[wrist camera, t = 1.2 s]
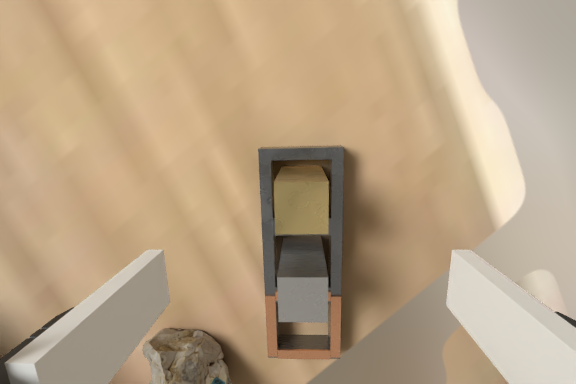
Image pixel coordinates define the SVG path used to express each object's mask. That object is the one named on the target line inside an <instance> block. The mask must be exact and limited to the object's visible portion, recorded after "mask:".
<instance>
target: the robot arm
mask: <svg viewBox="0 0 576 384" xmlns="http://www.w3.org/2000/svg"><path fill="white" fill-rule="evenodd" d="M169 303H170V297H169V289H168V281H167V274H166V266H165V258H164V250H147V251H145V252H144V253H143V254H141V255H140V256H139V257H138V258H136V259H135V260H134V261H133V262H131V263H130V264H129V265H128V266H126V267H125V268H124V269H123V270H121V271H120V272H119V273H117V274H116V275H115V276H114V277H112V278H111V279H110V280H109V281H107V282H106V283H105V284H104V285H102V286H101V287H100V288H99V289H97V290H96V291H95V292H94V293H92V294H91V295H90V296H88V297H87V298H86V299H85V300H83V301H82V302H81V303H80V304H78V305H77V306H76V307H73V308H71V309H69V310H67V311H65V312H63V313H61V314H60V315H58V316H56V317H55V318H53V319H52V320H51V321H49V322H48V323H47V324H45V325H44V326H43V327H42V329H39V330H38V331H36V332H35V333H34V334H32V335H31V336H30V338H29V339H26V340H25V341H23V342H22V343H21V344H19V345H18V346H17V347H15V348H14V349H13V350H12V351H10V352H9V353H8V354H6V355H5V356H4V357H2V358H1V359H0V384H108V383H109V382H110V381H111V380H112V378H113V377H114V376H115V374H116V373H117V372H118V370H119V369H120V368H121V366H122V365H123V364H124V362H125V361H126V360H127V358H128V357H129V356H130V354H131V353H132V352H133V350H134V349H135V348H136V347H137V345H138V344H139V343H140V341H141V340H142V339H143V337H144V336H145V335H146V333H147V332H148V331H149V329H150V328H151V327H152V325H153V324H154V323H155V321H156V320H157V319H158V317H159V316H160V315H161V314H162V312H163V311H164V310H165V308H166V307H167V306H168V304H169ZM446 306H447V307H448V308H449V309H450V311H451V312H452V313H453V314H454V316H455V317H456V318H457V319H458V321H459V322H460V323H461V324H462V326H463V327H464V328H465V329H466V331H467V332H468V333H469V334H470V336H471V337H472V338H473V339H474V341H475V342H476V343H477V344H478V346H479V347H480V348H481V349H482V351H483V352H484V353H485V354H486V356H487V357H488V358H489V359H490V361H491V362H492V363H493V364H494V366H495V367H496V368H497V369H498V371H499V372H500V373H501V374H502V376H503V377H504V378H505V379H506V381H507V382H508V383H509V384H576V321H575V320H573V319H571V318H569V317H567V316H565V315H563V314H561V313H559V312H554V311H552V310H551V309H549V308H548V307H547V306H545V305H544V304H543V303H541V302H540V301H539V300H537V299H536V298H535V297H533V296H532V295H531V294H529V293H528V292H527V291H525V290H524V289H522V288H521V287H520V286H518V285H517V284H516V283H514V282H513V281H511V280H510V279H509V278H508V277H506V276H505V275H504V274H502V273H501V272H500V271H498V270H497V269H495V268H494V267H493V266H491V265H490V264H489V263H487V262H486V261H485V260H483V259H482V258H481V257H479V256H478V255H476V254H475V253H474V252H473V251H471V250H452V257H451V265H450V274H449V283H448V292H447V301H446Z"/></svg>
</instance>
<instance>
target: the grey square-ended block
mask: <svg viewBox="0 0 576 384" xmlns="http://www.w3.org/2000/svg"><path fill="white" fill-rule="evenodd" d="M277 290H278V318H279V322H328V273H327V268H326V262H325V256H324V251H323V245H322V240H321V235H307V236H284V237H283V244H282V250H281V256H280V262H279V268H278V275H277Z"/></svg>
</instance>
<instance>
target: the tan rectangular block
mask: <svg viewBox="0 0 576 384" xmlns="http://www.w3.org/2000/svg"><path fill="white" fill-rule="evenodd" d="M274 210H275V235H284V234H328V225H329V181H328V179H327V177H326V175H325V173H324V171H323V169H322V167H321V166H282V167H281V169H280V171H279V173H278V175H277V177H276V179H275V181H274Z"/></svg>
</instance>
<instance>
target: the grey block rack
mask: <svg viewBox="0 0 576 384" xmlns="http://www.w3.org/2000/svg"><path fill="white" fill-rule="evenodd" d="M258 153H259V174H260V196H261V217H262V239H263V260H264V282H265V304H266V325H267V347H268V357H277V358H282V359H330V358H338V359H340V341H341V286H342V232H343V178H344V147H343V146H300V147H261V148H259V149H258ZM325 159H330V178H329V225H328V234H284V235H275V210H274V177H273V160H325ZM296 235H329V277H328V303H329V308H328V335H279V318H278V290H277V261H276V236H296Z"/></svg>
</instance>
